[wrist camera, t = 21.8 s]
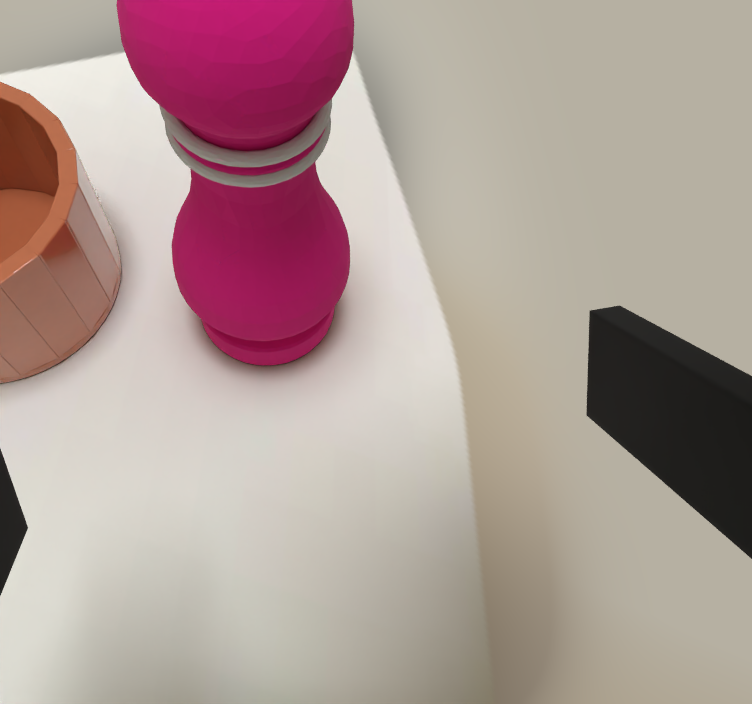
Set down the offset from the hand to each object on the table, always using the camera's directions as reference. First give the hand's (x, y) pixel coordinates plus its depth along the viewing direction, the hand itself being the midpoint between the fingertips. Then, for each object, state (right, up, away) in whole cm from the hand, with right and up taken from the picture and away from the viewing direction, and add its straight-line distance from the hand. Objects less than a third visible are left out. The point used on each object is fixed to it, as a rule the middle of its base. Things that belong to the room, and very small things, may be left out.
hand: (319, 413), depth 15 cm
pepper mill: (-4, +3, +17) cm, 18 cm away
